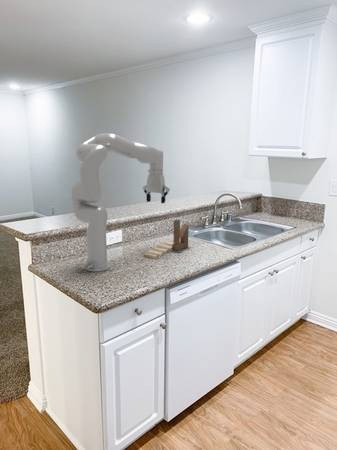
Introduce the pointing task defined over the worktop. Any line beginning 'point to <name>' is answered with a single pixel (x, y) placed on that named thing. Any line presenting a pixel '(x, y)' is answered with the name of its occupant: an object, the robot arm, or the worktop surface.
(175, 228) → the wooden block
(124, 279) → the worktop surface
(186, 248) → the end mark
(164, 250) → the wooden slatted rack
